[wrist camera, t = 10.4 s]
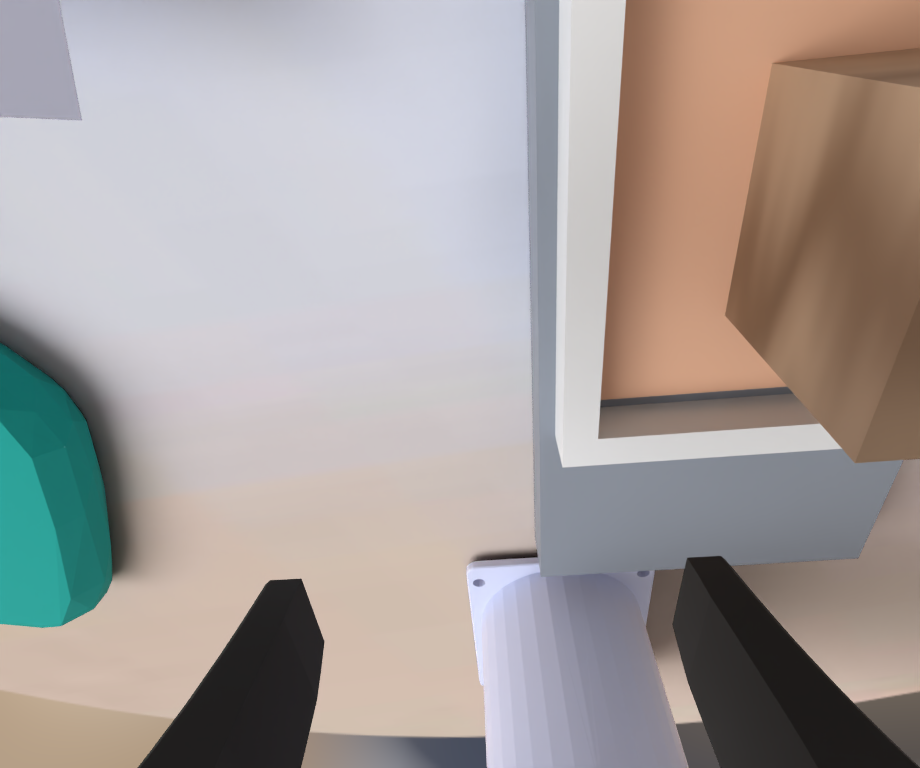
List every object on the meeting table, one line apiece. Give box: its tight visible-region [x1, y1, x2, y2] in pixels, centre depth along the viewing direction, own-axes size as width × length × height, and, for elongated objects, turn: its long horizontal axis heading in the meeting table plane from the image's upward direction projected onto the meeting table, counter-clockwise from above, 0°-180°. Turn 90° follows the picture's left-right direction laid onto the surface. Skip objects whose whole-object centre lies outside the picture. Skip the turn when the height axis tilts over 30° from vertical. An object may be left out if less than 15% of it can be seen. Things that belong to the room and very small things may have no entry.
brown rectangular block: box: [725, 48, 920, 463], centre depth 11 cm, size 6×4×6 cm, turn 5°
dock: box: [525, 0, 920, 577], centre depth 15 cm, size 24×12×4 cm, turn 5°
